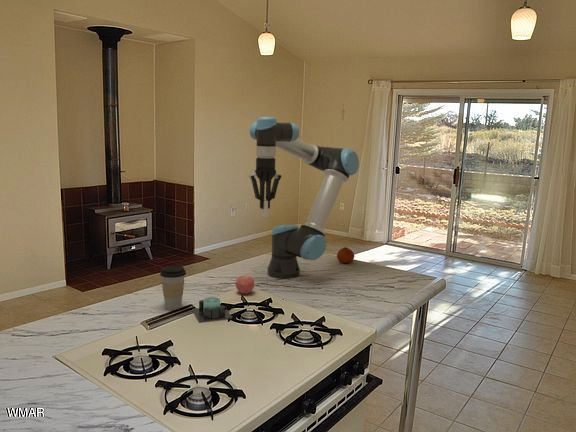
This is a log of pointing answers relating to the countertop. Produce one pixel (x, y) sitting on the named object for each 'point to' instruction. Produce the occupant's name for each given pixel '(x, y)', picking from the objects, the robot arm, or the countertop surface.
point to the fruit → (345, 255)
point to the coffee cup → (173, 286)
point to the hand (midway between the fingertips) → (264, 216)
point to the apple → (244, 284)
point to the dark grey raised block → (211, 313)
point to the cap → (211, 303)
